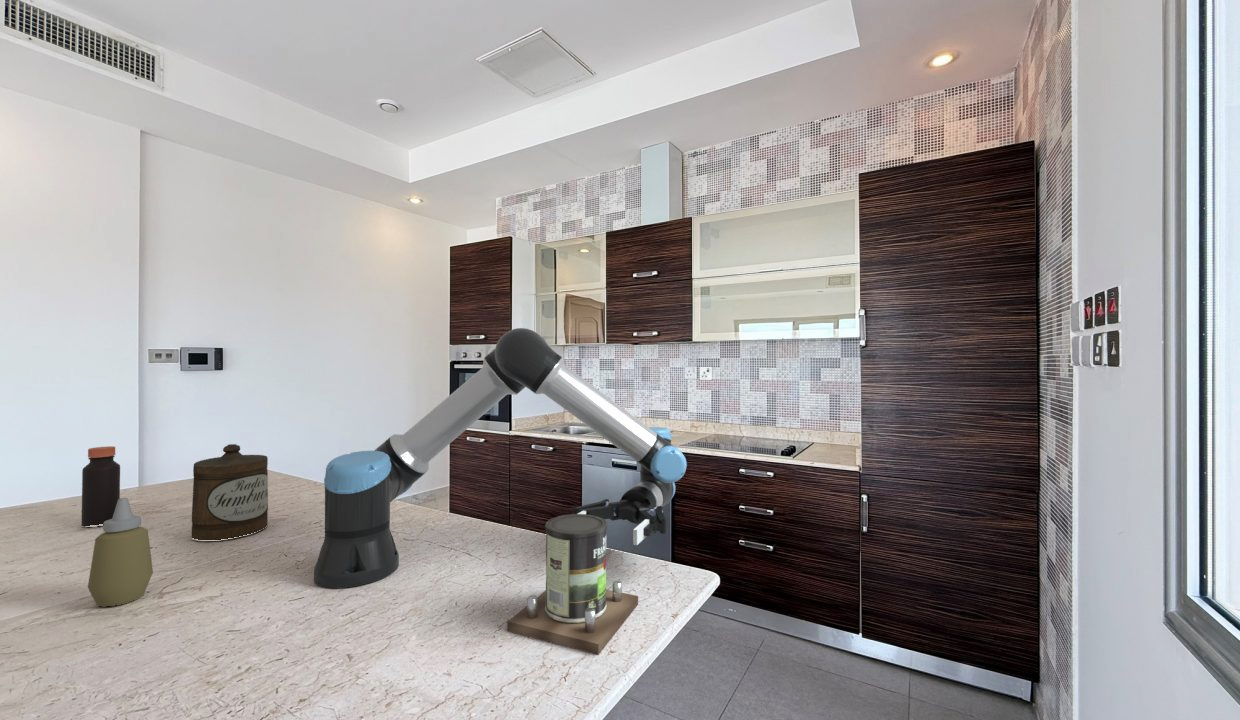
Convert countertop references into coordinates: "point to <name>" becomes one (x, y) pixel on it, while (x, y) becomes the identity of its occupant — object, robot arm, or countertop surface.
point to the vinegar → (100, 486)
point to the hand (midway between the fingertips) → (600, 532)
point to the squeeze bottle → (120, 559)
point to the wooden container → (229, 495)
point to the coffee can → (575, 567)
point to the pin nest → (575, 635)
